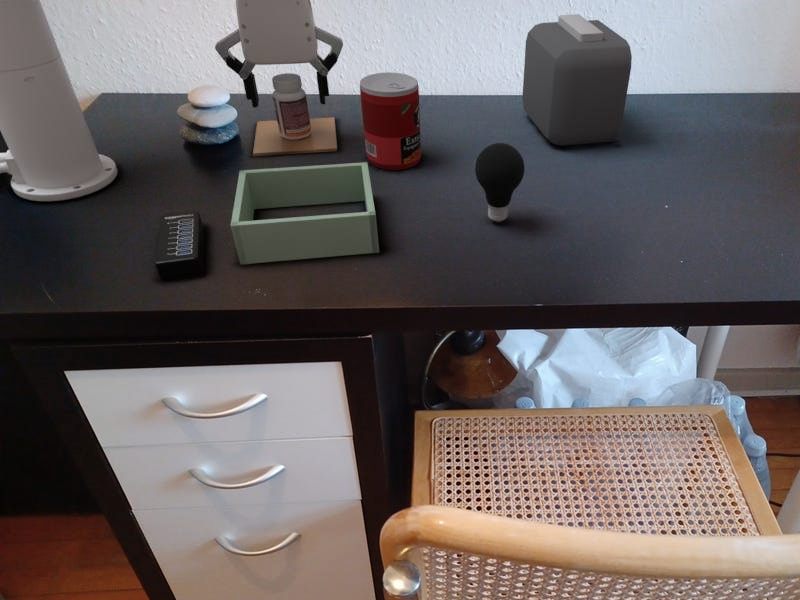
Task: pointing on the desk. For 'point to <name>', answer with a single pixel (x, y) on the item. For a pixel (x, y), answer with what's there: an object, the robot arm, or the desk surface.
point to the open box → (308, 232)
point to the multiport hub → (179, 245)
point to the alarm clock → (576, 80)
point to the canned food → (391, 120)
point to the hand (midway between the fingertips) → (289, 102)
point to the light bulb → (499, 177)
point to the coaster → (274, 144)
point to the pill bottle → (291, 107)
